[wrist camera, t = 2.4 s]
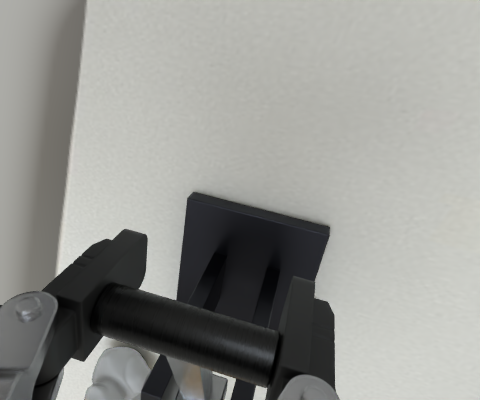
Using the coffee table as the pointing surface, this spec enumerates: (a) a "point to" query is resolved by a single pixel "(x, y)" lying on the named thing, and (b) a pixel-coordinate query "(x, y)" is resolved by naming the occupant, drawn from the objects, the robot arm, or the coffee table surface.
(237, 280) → the lever base
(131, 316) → the t-handle lever
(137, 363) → the grey swirled lump
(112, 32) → the coffee table surface
